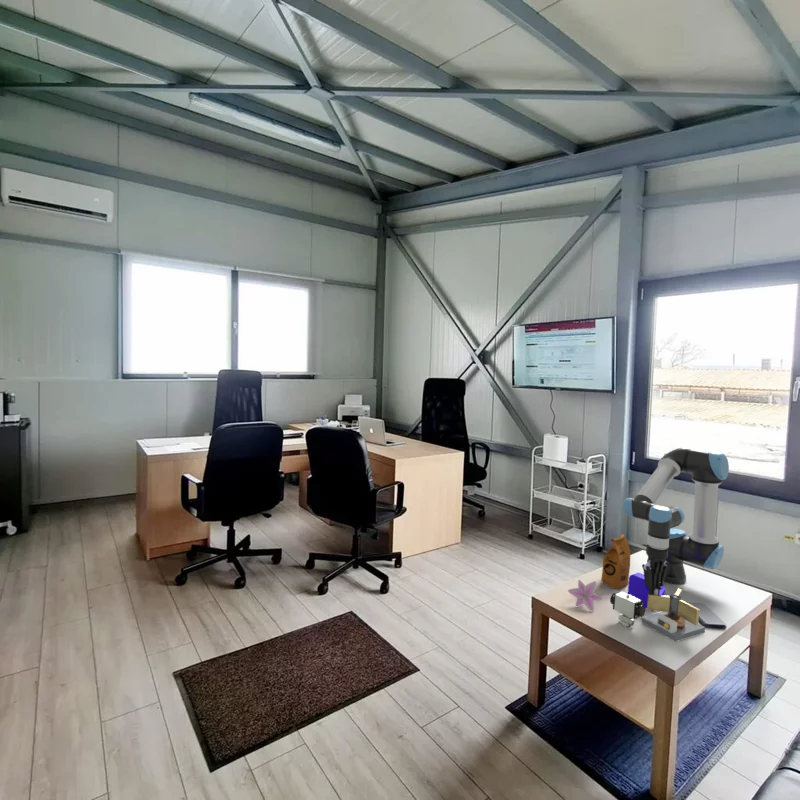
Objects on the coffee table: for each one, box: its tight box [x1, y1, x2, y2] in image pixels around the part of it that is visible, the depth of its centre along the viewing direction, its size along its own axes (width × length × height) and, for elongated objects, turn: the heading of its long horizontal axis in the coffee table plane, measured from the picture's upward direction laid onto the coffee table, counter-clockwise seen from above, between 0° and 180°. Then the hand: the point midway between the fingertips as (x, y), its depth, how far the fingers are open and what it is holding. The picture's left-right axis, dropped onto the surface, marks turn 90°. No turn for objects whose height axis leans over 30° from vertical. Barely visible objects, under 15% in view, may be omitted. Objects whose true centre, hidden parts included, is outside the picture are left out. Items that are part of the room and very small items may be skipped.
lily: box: [567, 579, 603, 613], centre depth 197 cm, size 12×12×10 cm
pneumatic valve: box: [609, 590, 646, 628], centre depth 184 cm, size 6×12×12 cm, turn 36°
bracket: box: [627, 572, 666, 612], centre depth 204 cm, size 18×11×12 cm, turn 123°
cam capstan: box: [646, 588, 700, 628], centre depth 183 cm, size 17×15×10 cm
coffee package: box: [600, 534, 631, 590], centre depth 218 cm, size 10×12×22 cm
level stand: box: [641, 611, 706, 642], centre depth 183 cm, size 18×14×6 cm
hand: (652, 604), depth 187 cm, fingers closed
